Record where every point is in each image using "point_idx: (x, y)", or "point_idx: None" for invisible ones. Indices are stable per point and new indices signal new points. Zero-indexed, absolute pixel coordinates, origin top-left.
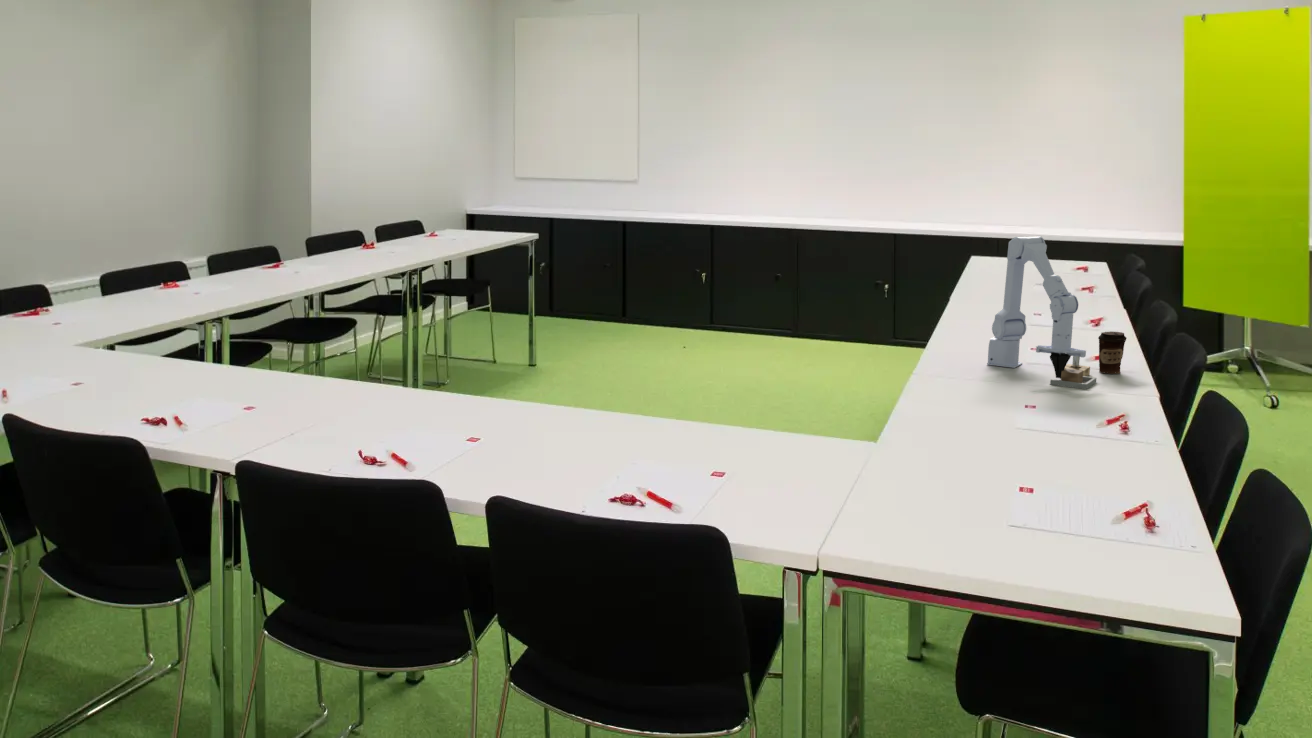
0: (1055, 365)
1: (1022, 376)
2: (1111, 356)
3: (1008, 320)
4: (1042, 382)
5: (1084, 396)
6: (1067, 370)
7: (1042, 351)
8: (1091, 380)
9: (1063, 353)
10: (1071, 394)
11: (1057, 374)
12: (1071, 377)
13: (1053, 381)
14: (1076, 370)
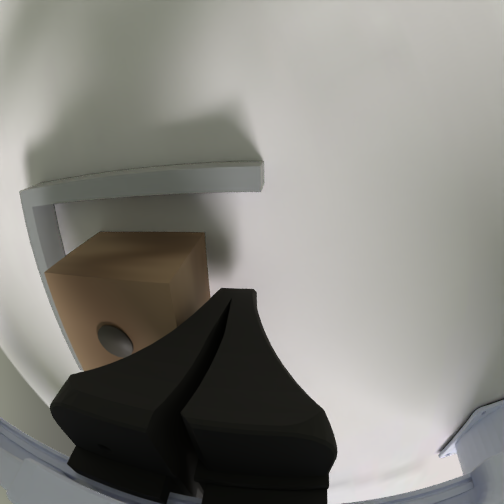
0: (243, 348)
1: (472, 307)
2: (121, 501)
3: None
4: (342, 206)
5: (17, 28)
6: (149, 341)
7: (448, 492)
8: (53, 305)
9: (139, 500)
10: (64, 4)
11: (234, 298)
12: (105, 256)
13: (232, 164)
14: (107, 363)
